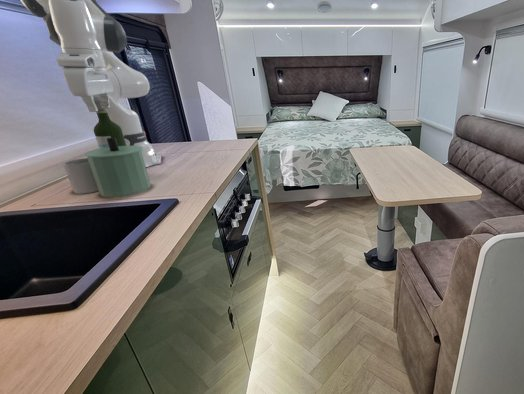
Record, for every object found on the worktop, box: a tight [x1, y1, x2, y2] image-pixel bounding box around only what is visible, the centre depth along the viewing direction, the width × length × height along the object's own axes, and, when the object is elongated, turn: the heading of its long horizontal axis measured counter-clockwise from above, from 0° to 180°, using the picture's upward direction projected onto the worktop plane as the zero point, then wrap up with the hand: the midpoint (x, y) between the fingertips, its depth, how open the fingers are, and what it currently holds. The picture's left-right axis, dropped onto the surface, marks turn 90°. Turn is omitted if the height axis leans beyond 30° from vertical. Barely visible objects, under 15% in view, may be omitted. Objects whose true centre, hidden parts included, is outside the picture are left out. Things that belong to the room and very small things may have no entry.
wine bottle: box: [93, 96, 126, 149], centre depth 105 cm, size 8×8×30 cm
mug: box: [62, 157, 99, 195], centre depth 101 cm, size 12×9×10 cm
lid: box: [84, 138, 143, 158], centre depth 94 cm, size 15×15×5 cm
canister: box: [86, 151, 152, 198], centre depth 97 cm, size 14×14×14 cm
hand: (100, 109), depth 90 cm, fingers open, 8 cm apart
